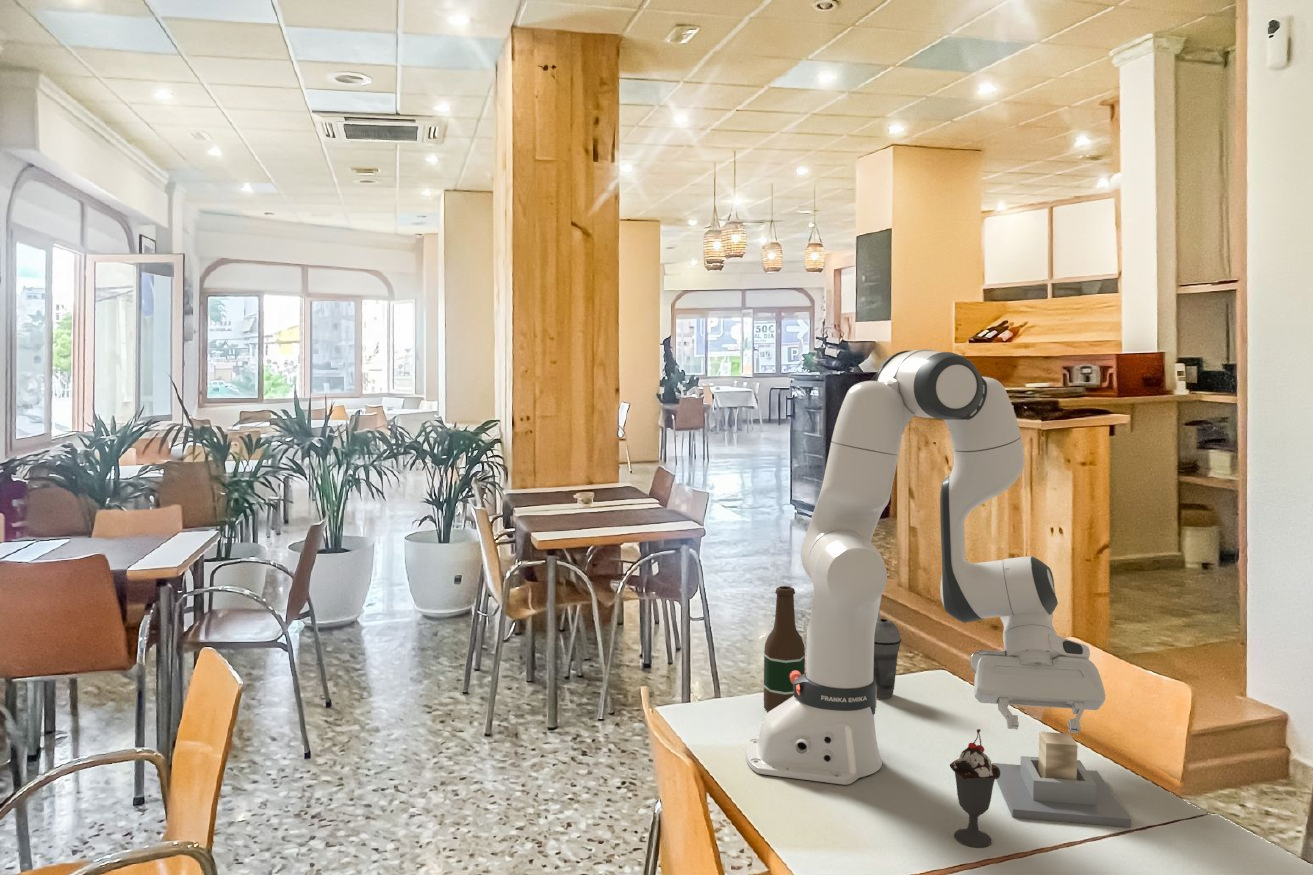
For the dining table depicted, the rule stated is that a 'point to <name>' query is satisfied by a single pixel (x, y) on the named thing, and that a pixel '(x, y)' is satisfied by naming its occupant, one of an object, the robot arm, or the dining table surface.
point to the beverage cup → (885, 656)
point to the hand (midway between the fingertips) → (1043, 729)
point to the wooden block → (1057, 756)
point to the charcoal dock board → (1059, 795)
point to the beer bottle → (782, 651)
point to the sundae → (974, 791)
